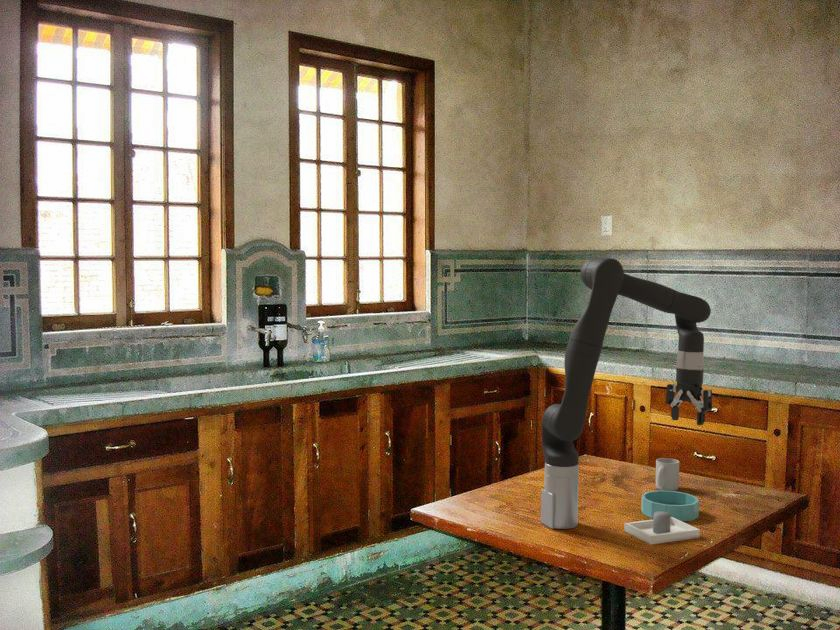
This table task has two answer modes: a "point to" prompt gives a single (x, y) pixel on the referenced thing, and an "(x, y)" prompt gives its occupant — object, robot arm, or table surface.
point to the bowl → (670, 504)
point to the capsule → (661, 522)
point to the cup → (667, 474)
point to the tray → (676, 533)
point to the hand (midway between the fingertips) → (687, 422)
